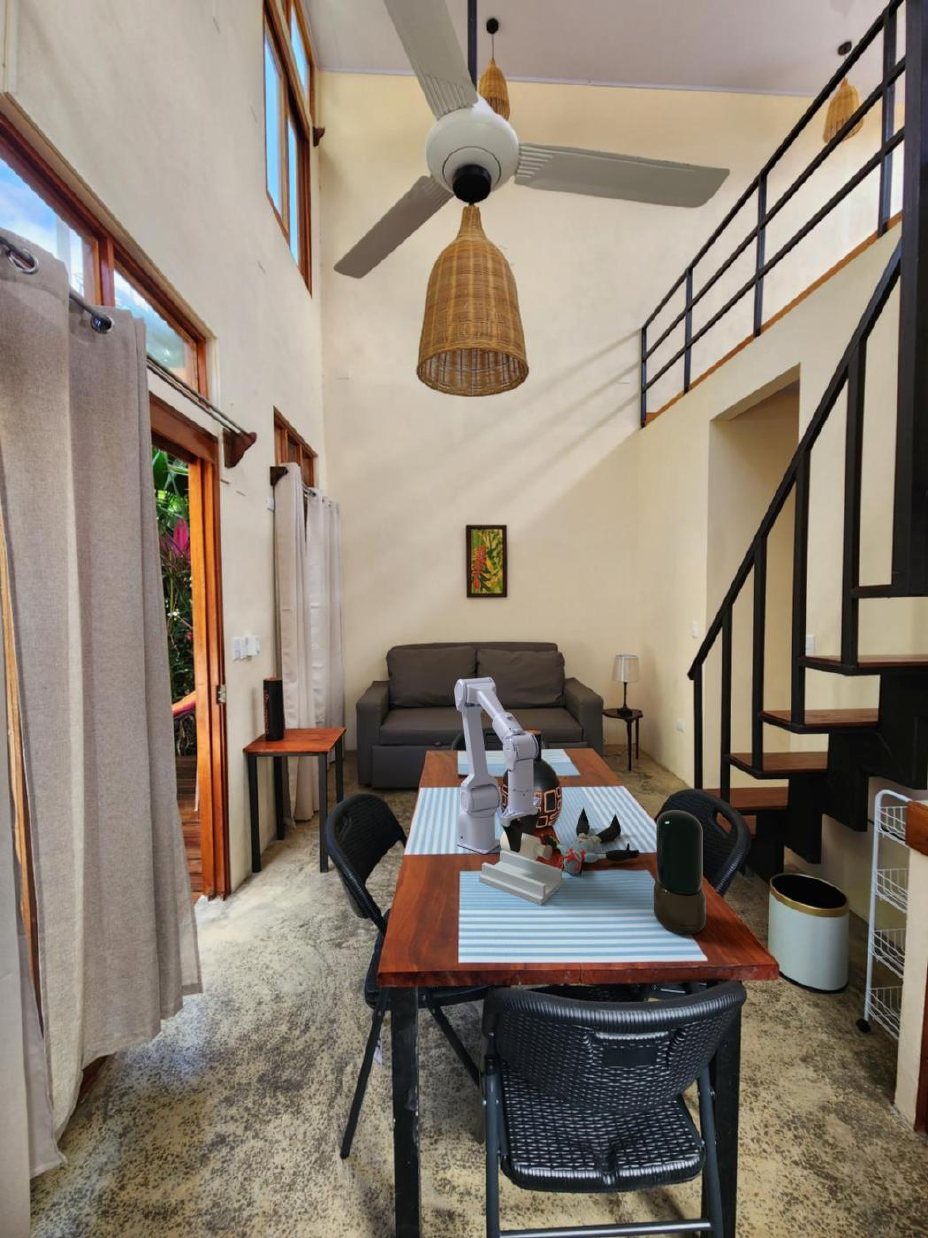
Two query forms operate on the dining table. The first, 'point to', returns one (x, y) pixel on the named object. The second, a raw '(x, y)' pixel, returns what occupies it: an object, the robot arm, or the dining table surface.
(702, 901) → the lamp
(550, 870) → the cradle
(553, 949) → the dining table surface
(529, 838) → the bottle
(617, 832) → the toy
